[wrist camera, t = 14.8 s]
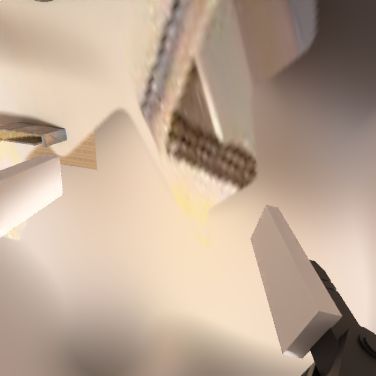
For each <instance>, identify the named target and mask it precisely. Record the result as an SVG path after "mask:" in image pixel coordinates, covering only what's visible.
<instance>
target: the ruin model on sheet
mask: <svg viewBox="0 0 376 376" xmlns="http://www.w3.org/2000/svg"><path fill="white" fill-rule="evenodd" d="M3 140H4V141H9V142H16V143H23V144H29V145H34V146H35V145H38V144H39V145H38V146H36V148H34V149H33V151H31V153H30V154H29V155H28V156H27V157H26V159H30V160H31V159H33V158H36V157H39V156H41V155H44V154H47V153H48V154H53V155H57V156H59V155H58V154H56V153H55V152H54V151H53V150H52V148H51V147H50V145H53V144H56V143H59V142H62V141H65V140H67V137H66V130H65V129H62V128H55V127H48V126H41V125H34V124H27V123H21V122H19V123H13V124H6V125H0V142H1V141H3ZM41 143H42V144H41ZM59 157H60V164H63V165H69V166H76V167H82V168H89V169H95V170H97V161H96V149H95V138H94V130H93V131H92V132H91V133H90V134H89V135H88V136H87V137H86V138H85V139H84V140H83V141H81V142H80V144H78V145H77V146H76V147H75V148H74V149H73V150H72V151H71V152H70V153H69V154H67V155H66V156H59Z"/></svg>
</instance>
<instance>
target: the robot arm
mask: <svg viewBox="0 0 376 376" xmlns="http://www.w3.org/2000/svg"><path fill="white" fill-rule="evenodd" d="M35 1H40V2H48V1H52V0H35ZM62 194H63V192H62V180H61V170H60V157H59V156H57V155H53V154H48V153H47V154H44V155H41V156H39V157H36V158H33V159H31V160H28V161H25V162H22V163H20V164H17V165H14V166H12V167H9V168H6V169H4V170H1V171H0V237H2V236H3V235H5V234H6V233H8V232H9V231H11V230H12V229H13V228H15V227H16V226H18V225H19V224H21V223H22V222H24V221H25V220H26V219H28V218H29V217H31V216H32V215H34V214H35V213H36V212H38V211H39V210H41V209H42V208H44V207H45V206H47V205H48V204H49V203H51V202H52V201H54V200H55V199H57V198H58V197H60V196H61V195H62ZM251 242H252V245H253V249H254V252H255V256H256V259H257V263H258V267H259V270H260V274H261V278H262V281H263V285H264V288H265V292H266V296H267V299H268V303H269V306H270V310H271V314H272V317H273V321H274V324H275V328H276V331H277V335H278V339H279V342H280V346H281V350H282V353H283V354H285V355H289V356H293V357H298V358H303V357H304V356H305V355H306V354H307V353H308V352H309V351H311V354H312V356H313V358H314V361H315V362H314V363H313V364H312V365H311V366H310V367H309V368H308V369H307V370H306V371H305V372H304V373H303V374H302V375H301V376H376V335H375V334H374V333H373V332H371V331H369V330H368V329H366V328H364V327H361V326H360V325H359V324H358V322H357V321H356V319H355V318H354V316H353V314H352V313H351V311H350V310H349V308H348V307H347V305H346V304H345V302H344V301H343V299H342V297H341V296H340V294H339V293H338V292H337V291H336V288H335V286H334V285H333V283H331V280H330V279H329V277H328V276H327V274H326V272H325V271H324V270H323V269H322V268H321V267H320V266H319V265H318V264H317V263H316V262H315V261H312V260H309V259H308V258H307V256H306V254H305V252H304V251H303V249H302V247H301V245H300V244H299V242H298V240H297V239H296V237H295V235H294V234H293V232H292V230H291V229H290V227H289V225H288V224H287V222H286V220H285V218H284V217H283V215H282V214H281V212H280V210H279V208H277V207H273V206H269V205H266V206H265V208H264V211H263V213H262V215H261V217H260V219H259V221H258V224H257V226H256V228H255V230H254V233H253V235H252V237H251Z"/></svg>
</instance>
